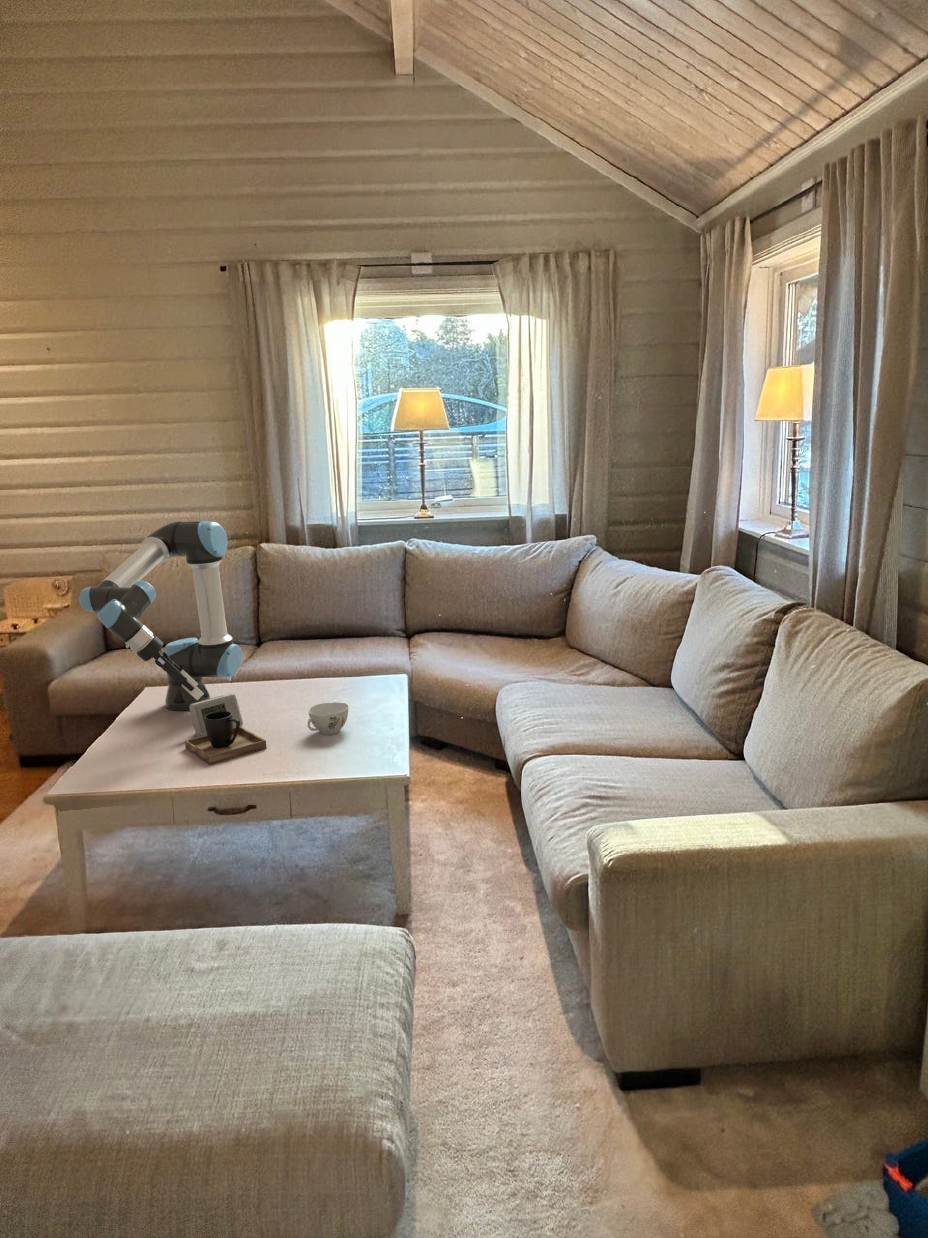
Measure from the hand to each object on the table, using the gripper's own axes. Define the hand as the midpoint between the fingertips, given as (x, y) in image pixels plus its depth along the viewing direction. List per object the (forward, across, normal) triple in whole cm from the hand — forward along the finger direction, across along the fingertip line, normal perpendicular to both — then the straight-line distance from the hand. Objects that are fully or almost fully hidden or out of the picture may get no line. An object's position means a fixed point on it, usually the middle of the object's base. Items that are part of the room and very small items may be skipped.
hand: (197, 692), depth 268 cm
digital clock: (+17, -14, -6) cm, 23 cm away
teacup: (+37, +7, +18) cm, 41 cm away
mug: (+17, +4, -6) cm, 19 cm away
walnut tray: (+18, +4, -6) cm, 19 cm away
